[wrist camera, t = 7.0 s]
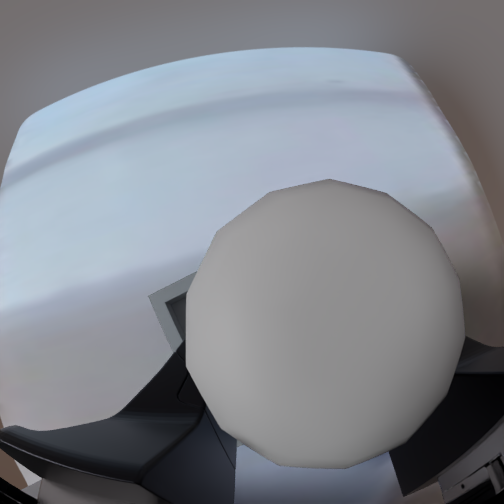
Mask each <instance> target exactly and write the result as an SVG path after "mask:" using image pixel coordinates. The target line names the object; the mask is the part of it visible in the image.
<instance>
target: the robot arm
mask: <svg viewBox="0 0 504 504" xmlns="http://www.w3.org/2000/svg"><path fill="white" fill-rule="evenodd" d="M0 448H1V449H2V450H3V451H4V452H6V453H7V454H8V455H9V456H11V457H12V458H13V459H15V460H16V461H17V462H19V463H20V464H22V465H23V466H24V467H26V468H27V469H29V470H30V471H32V472H33V473H35V474H36V475H38V476H39V477H41V478H42V480H41V484H40V489H39V493H38V498H37V499H36V498H34V497H32V496H30V495H28V494H26V493H25V492H23V491H21V490H20V489H18V488H16V487H15V486H13V485H11V484H9V483H8V482H7V481H5V480H4V479H2V478H1V477H0V504H234V492H235V469H236V451H237V439H235V438H234V437H232V436H231V435H229V434H228V433H227V432H225V431H224V430H222V429H221V428H220V426H219V424H218V423H217V421H216V419H215V418H214V416H213V414H212V413H211V411H210V409H209V408H208V406H207V404H206V402H205V401H204V399H203V397H202V395H201V393H200V392H199V390H198V388H197V386H196V384H195V382H194V381H193V379H192V377H191V375H190V373H189V371H188V369H187V367H186V337H185V339H184V340H183V341H182V343H181V344H180V345H179V347H178V348H177V349H176V352H174V353H173V354H172V356H171V357H170V358H169V360H168V361H167V362H166V363H165V365H164V366H163V367H162V368H161V370H160V371H159V372H158V373H157V374H156V375H155V376H154V377H153V378H152V379H151V381H150V382H149V383H148V384H147V385H146V386H145V387H144V388H143V389H142V390H141V391H140V392H139V393H138V394H137V395H136V396H135V397H134V398H133V399H132V400H131V401H130V402H129V403H128V404H127V405H126V406H125V407H124V408H123V409H122V410H121V411H120V412H118V413H117V414H116V415H114V416H112V417H110V418H108V419H104V420H100V421H96V422H92V423H87V424H83V425H78V426H73V427H68V428H62V429H56V430H49V431H35V430H30V429H26V428H24V427H21V426H16V425H14V426H9V427H5V428H2V429H0ZM389 454H390V457H391V460H392V463H393V466H394V469H395V472H396V475H397V479H398V482H399V485H400V488H401V491H402V494H403V496H407V495H409V494H411V493H414V492H416V491H418V490H421V489H423V488H425V487H427V486H429V485H431V484H433V483H435V482H437V481H438V482H439V484H440V487H441V490H442V493H443V494H442V496H443V499H444V502H445V504H504V347H491V346H487V345H484V344H482V343H480V342H477V341H475V340H473V339H471V338H469V337H467V336H465V340H464V344H463V348H462V351H461V355H460V358H459V361H458V364H457V367H456V370H455V373H454V376H453V379H452V382H451V385H450V387H449V390H448V393H447V395H446V397H445V398H444V399H443V400H442V402H441V403H440V404H439V406H438V407H437V408H436V409H435V410H434V412H433V413H432V414H431V415H430V416H429V418H428V419H427V420H426V421H425V422H424V423H423V425H422V426H421V427H420V428H419V429H418V430H417V431H416V432H415V433H414V434H413V436H412V437H411V438H410V439H409V440H408V441H407V442H406V443H404V444H402V445H400V446H398V447H396V448H394V449H392V450H390V451H389Z"/></svg>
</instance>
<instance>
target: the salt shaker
mask: <svg viewBox="0 0 504 504" xmlns="http://www.w3.org/2000/svg"><path fill="white" fill-rule="evenodd" d="M464 340H465V324H464V313H463V303H462V295H461V288H460V281H459V277H458V275H457V273H456V271H455V269H454V267H453V265H452V263H451V261H450V259H449V257H448V255H447V254H446V252H445V250H444V248H443V246H442V244H441V243H440V241H439V239H438V237H437V236H436V234H435V232H434V230H433V229H432V227H430V226H429V225H428V224H427V223H425V222H424V221H423V220H422V219H420V218H419V217H418V216H417V215H415V214H414V213H413V212H411V211H410V210H409V209H407V208H406V207H405V206H403V205H402V204H401V203H399V202H398V201H397V200H395V199H394V198H393V197H391V196H390V195H388V194H387V193H384V192H381V191H377V190H373V189H369V188H365V187H361V186H357V185H353V184H349V183H345V182H341V181H336V180H332V179H327V180H322V181H317V182H312V183H308V184H303V185H298V186H294V187H289V188H285V189H281V190H276V191H272V192H269V193H268V194H266V195H265V196H264V197H262V198H261V199H259V200H258V201H257V202H255V203H254V204H253V205H251V206H250V207H249V208H247V209H246V210H245V211H243V212H242V213H241V214H239V215H238V216H237V217H235V218H234V219H233V220H231V221H230V222H229V223H227V224H226V225H225V226H223V227H222V228H221V229H219V230H218V231H217V232H216V234H215V236H214V238H213V240H212V242H211V244H210V246H209V248H208V250H207V253H206V255H205V257H204V259H203V261H202V263H201V265H200V267H199V269H198V271H197V273H196V275H195V277H194V279H193V282H192V284H191V286H190V288H189V290H188V292H187V294H186V367H187V369H188V371H189V373H190V375H191V377H192V379H193V381H194V382H195V384H196V386H197V388H198V390H199V392H200V393H201V395H202V397H203V399H204V401H205V402H206V404H207V406H208V408H209V409H210V411H211V413H212V414H213V416H214V418H215V419H216V421H217V423H218V424H219V426H220V428H221V429H222V430H224V431H225V432H227V433H228V434H229V435H231V436H232V437H234V438H235V439H237V440H238V441H240V442H241V443H243V444H244V445H246V446H247V447H249V448H251V449H252V450H254V451H255V452H257V453H259V454H260V455H262V456H263V457H265V458H267V459H268V460H270V461H272V462H274V463H275V464H277V465H279V466H289V467H302V468H323V469H346V468H349V467H352V466H354V465H357V464H360V463H362V462H365V461H367V460H369V459H372V458H374V457H377V456H379V455H381V454H383V453H386V452H388V451H390V450H392V449H394V448H396V447H398V446H400V445H402V444H404V443H406V442H407V441H408V440H409V439H410V438H411V437H412V436H413V434H414V433H415V432H416V431H417V430H418V429H419V428H420V427H421V426H422V425H423V423H424V422H425V421H426V420H427V419H428V418H429V416H430V415H431V414H432V413H433V412H434V410H435V409H436V408H437V407H438V406H439V404H440V403H441V402H442V400H443V399H444V398H445V397H446V395H447V393H448V390H449V387H450V385H451V382H452V379H453V376H454V373H455V370H456V367H457V364H458V361H459V358H460V355H461V351H462V348H463V344H464Z"/></svg>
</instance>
